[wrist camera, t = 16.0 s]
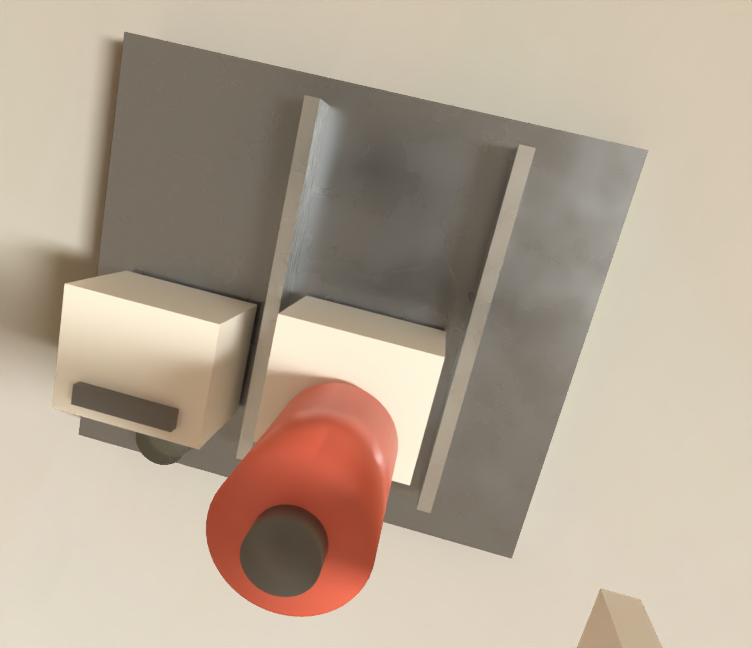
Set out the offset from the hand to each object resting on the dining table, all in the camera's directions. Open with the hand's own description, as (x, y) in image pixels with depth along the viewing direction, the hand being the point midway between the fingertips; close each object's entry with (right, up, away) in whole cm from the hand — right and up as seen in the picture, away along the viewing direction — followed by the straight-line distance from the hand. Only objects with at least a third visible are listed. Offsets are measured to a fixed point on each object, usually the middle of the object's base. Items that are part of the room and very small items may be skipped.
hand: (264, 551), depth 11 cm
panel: (+1, +6, +14) cm, 15 cm away
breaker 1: (-6, +4, +13) cm, 15 cm away
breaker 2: (+2, +3, +12) cm, 13 cm away
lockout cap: (+1, 0, +9) cm, 9 cm away
